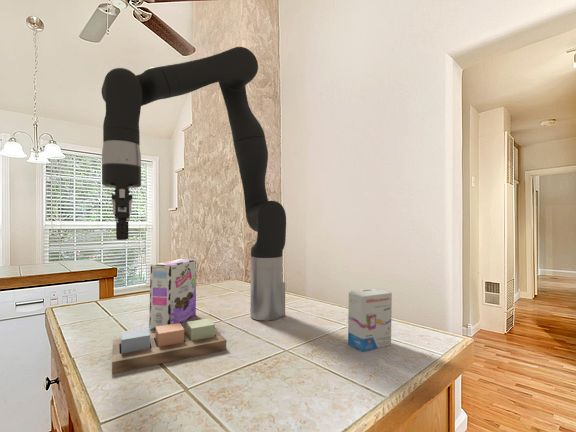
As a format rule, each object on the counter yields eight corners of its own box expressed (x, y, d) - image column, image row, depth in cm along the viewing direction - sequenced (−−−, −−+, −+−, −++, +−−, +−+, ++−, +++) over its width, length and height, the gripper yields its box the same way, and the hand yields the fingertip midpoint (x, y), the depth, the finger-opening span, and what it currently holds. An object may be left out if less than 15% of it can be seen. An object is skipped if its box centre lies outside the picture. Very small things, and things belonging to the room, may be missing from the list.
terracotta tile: (179, 336, 68) (179, 322, 68) (183, 344, 64) (184, 329, 64) (155, 340, 66) (155, 326, 66) (158, 348, 61) (158, 333, 61)
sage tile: (208, 331, 71) (208, 318, 71) (214, 338, 67) (214, 324, 67) (186, 335, 69) (186, 321, 69) (191, 342, 64) (191, 328, 64)
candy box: (169, 331, 76) (170, 264, 76) (148, 329, 77) (149, 264, 77) (196, 314, 89) (197, 258, 90) (178, 313, 90) (179, 258, 91)
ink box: (362, 352, 63) (362, 295, 63) (347, 344, 67) (347, 290, 68) (392, 345, 67) (392, 291, 67) (376, 337, 71) (376, 287, 72)
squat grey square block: (147, 341, 65) (147, 327, 65) (150, 350, 60) (150, 335, 61) (121, 346, 62) (121, 331, 62) (121, 355, 58) (121, 339, 58)
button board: (210, 332, 75) (211, 323, 75) (226, 349, 65) (226, 340, 65) (112, 349, 65) (112, 339, 65) (111, 373, 54) (112, 362, 54)
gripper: (142, 160, 62) (143, 239, 62) (139, 170, 75) (139, 237, 74) (99, 157, 59) (100, 241, 58) (103, 168, 71) (104, 238, 71)
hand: (122, 238), depth 66 cm, fingers open, 8 cm apart
